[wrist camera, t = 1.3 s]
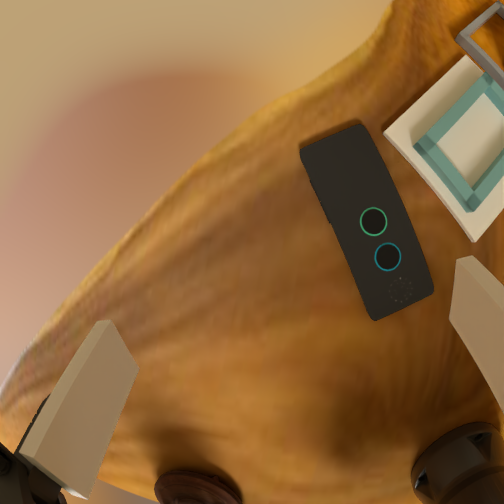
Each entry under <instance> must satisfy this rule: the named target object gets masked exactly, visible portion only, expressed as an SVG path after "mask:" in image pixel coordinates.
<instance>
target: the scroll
mask: <svg viewBox="0 0 504 504" xmlns="http://www.w3.org/2000/svg"><path fill="white" fill-rule="evenodd" d="M154 491H155V495H156V497H157V499H158V501H159V502H160V504H242V502H241V500H240V499H239V497H238V496H237V495H236V494H235V493H234V492H233V491H232V490H231V489H229V488H228V487H227V486H225V485H224V484H222V483H220V482H219V478H218V476H214V477H213V478H210V477H208V476H205V475H202V474H199V473H195V472H190V471H170V472H167V473H165V474H163V475H161V476H160V477H159V479H158V480H157V482H156V483H155V487H154Z"/></svg>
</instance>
